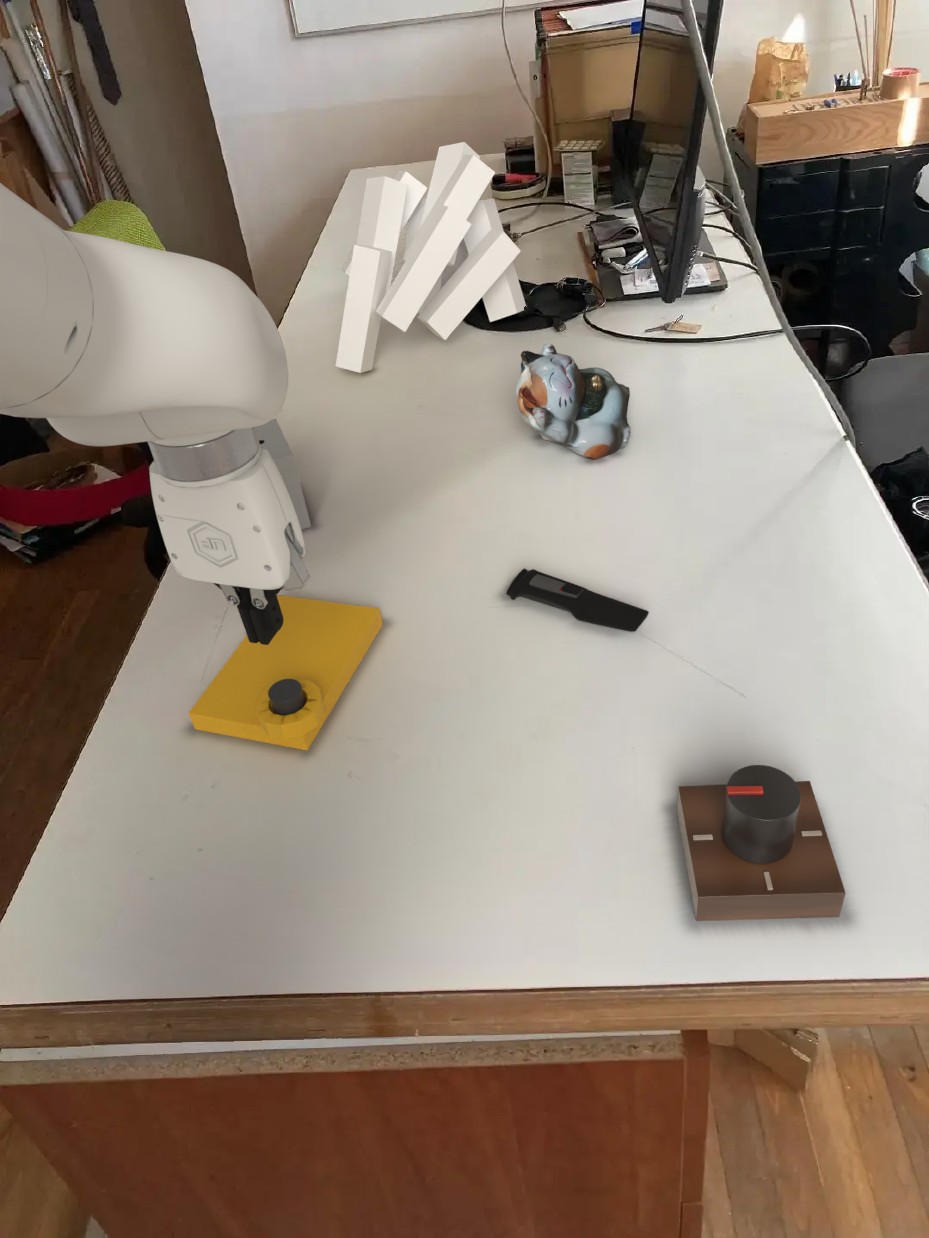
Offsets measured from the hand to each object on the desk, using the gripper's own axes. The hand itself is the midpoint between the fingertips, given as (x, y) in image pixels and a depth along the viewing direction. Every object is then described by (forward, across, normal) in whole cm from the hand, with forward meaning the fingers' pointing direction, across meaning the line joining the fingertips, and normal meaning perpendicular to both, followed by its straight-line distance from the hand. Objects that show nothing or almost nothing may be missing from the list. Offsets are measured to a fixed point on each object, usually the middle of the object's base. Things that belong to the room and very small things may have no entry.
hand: (267, 632), depth 79 cm
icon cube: (+12, -21, +32) cm, 40 cm away
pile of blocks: (+13, -18, +87) cm, 90 cm away
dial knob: (+9, +41, -5) cm, 42 cm away
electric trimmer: (+12, +21, +22) cm, 33 cm away
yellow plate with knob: (+12, -4, +7) cm, 14 cm away
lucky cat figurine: (+13, +13, +56) cm, 59 cm away
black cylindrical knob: (+8, 0, 0) cm, 8 cm away
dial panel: (+12, +41, -5) cm, 43 cm away
